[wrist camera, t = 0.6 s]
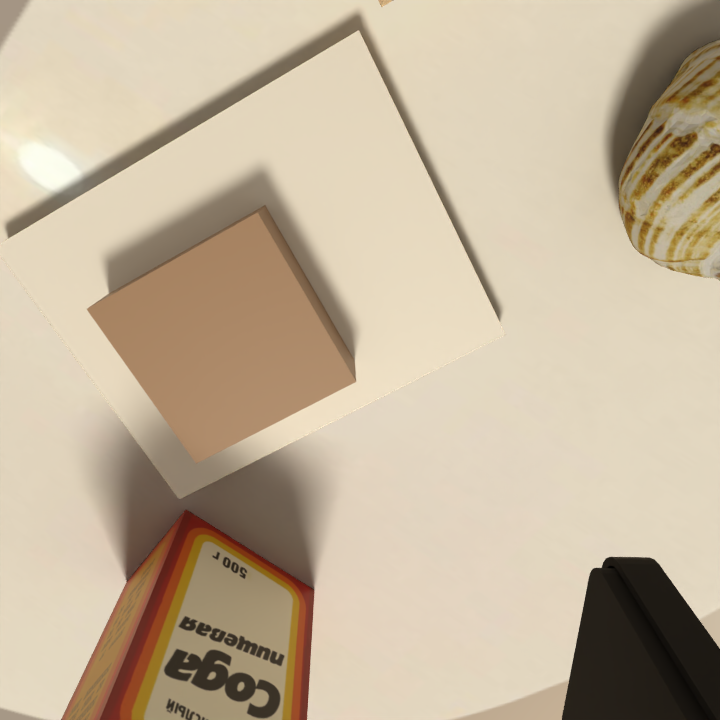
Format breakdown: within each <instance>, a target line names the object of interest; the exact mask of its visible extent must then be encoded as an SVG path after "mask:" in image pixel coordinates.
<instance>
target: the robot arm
mask: <svg viewBox="0 0 720 720" xmlns="http://www.w3.org/2000/svg"><path fill="white" fill-rule="evenodd" d="M562 720H720V649H719V647H718V646H717V644H716V643H715V642H714V640H713V639H712V637H711V636H710V635H709V633H708V632H707V630H706V629H705V628H704V626H703V625H702V623H701V622H700V621H699V619H698V618H697V617H696V615H695V614H694V612H693V611H692V610H691V608H690V607H689V605H688V604H687V603H686V601H685V600H684V598H683V597H682V596H681V594H680V593H679V592H678V590H677V589H676V587H675V586H674V585H673V583H672V582H671V580H670V579H669V578H668V576H667V575H666V573H665V572H664V571H663V569H662V568H661V566H660V565H659V564H658V563H657V562H656V561H655V560H654V559H652V558H642V557H609V558H606V560H605V561H604V563H603V565H602V568H594V569H593V570H592V571H591V573H590V576H589V581H588V586H587V591H586V596H585V601H584V607H583V612H582V617H581V622H580V627H579V632H578V638H577V643H576V648H575V653H574V658H573V664H572V669H571V674H570V679H569V684H568V690H567V695H566V700H565V706H564V710H563V715H562Z"/></svg>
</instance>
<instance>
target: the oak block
mask: <svg viewBox="0 0 720 720" xmlns="http://www.w3.org/2000/svg"><path fill="white" fill-rule="evenodd" d="M391 1H393V0H379V3H380V5H381V7H383V6H384V5H386V4H388V3H389V2H391Z"/></svg>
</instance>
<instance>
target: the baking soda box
mask: <svg viewBox="0 0 720 720" xmlns="http://www.w3.org/2000/svg"><path fill="white" fill-rule="evenodd" d="M313 605H314V589H312V588H310V587H309V586H307V585H306V584H304V583H302V582H301V581H299V580H298V579H296V578H294V577H293V576H291V575H290V574H288V573H286V572H285V571H283V570H282V569H280V568H278V567H277V566H275V565H274V564H272V563H271V562H269V561H267V560H266V559H264V558H263V557H261V556H259V555H258V554H256V553H255V552H253V551H251V550H250V549H248V548H247V547H245V546H243V545H242V544H240V543H239V542H237V541H235V540H234V539H232V538H231V537H229V536H227V535H226V534H224V533H223V532H221V531H220V530H218V529H216V528H215V527H213V526H212V525H210V524H208V523H207V522H205V521H204V520H202V519H200V518H199V517H197V516H196V515H194V514H192V513H191V512H189V511H188V510H185V511H184V512H183V514H182V515H181V516H180V517H179V519H178V520H177V521H176V522H175V523H174V525H173V526H172V527H171V528H170V530H169V531H168V532H167V533H166V535H165V536H164V537H163V538H162V539H161V541H160V542H159V543H158V544H157V546H156V547H155V548H154V549H153V551H152V552H151V553H150V554H149V555H148V557H147V558H146V559H145V560H144V562H143V563H142V564H141V565H140V567H139V568H138V569H137V570H136V571H135V573H134V574H133V575H132V576H131V578H130V579H129V580H128V581H127V583H126V585H125V587H124V589H123V591H122V593H121V595H120V597H119V599H118V601H117V604H116V606H115V608H114V610H113V612H112V614H111V616H110V618H109V620H108V622H107V625H106V627H105V629H104V631H103V633H102V635H101V637H100V639H99V641H98V643H97V646H96V648H95V650H94V652H93V654H92V656H91V658H90V660H89V662H88V664H87V667H86V669H85V671H84V673H83V675H82V677H81V679H80V681H79V683H78V685H77V688H76V690H75V692H74V694H73V696H72V698H71V700H70V702H69V704H68V706H67V709H66V711H65V713H64V715H63V717H62V719H61V720H307V709H308V691H309V674H310V657H311V640H312V622H313Z"/></svg>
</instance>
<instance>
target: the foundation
mask: <svg viewBox="0 0 720 720" xmlns="http://www.w3.org/2000/svg"><path fill="white" fill-rule="evenodd" d="M0 257H1V258H2V260H3V261H4V262H5V264H6V265H7V266H8V268H9V269H10V271H11V272H12V273H13V275H14V276H15V277H16V279H17V280H18V281H19V283H20V284H21V285H22V287H23V288H24V290H25V291H26V292H27V294H28V295H29V296H30V298H31V299H32V300H33V302H34V303H35V305H36V306H37V307H38V309H39V310H40V311H41V313H42V314H43V315H44V317H45V318H46V319H47V321H48V322H49V324H50V325H51V326H52V328H53V329H54V330H55V332H56V333H57V334H58V336H59V337H60V338H61V340H62V341H63V343H64V344H65V345H66V347H67V348H68V349H69V351H70V352H71V353H72V355H73V356H74V358H75V359H76V360H77V362H78V363H79V364H80V366H81V367H82V368H83V370H84V371H85V372H86V374H87V375H88V377H89V378H90V379H91V381H92V382H93V383H94V385H95V386H96V387H97V389H98V390H99V391H100V393H101V394H102V396H103V397H104V398H105V400H106V401H107V402H108V404H109V405H110V406H111V408H112V409H113V411H114V412H115V413H116V415H117V416H118V417H119V419H120V420H121V421H122V423H123V424H124V425H125V427H126V428H127V430H128V431H129V432H130V434H131V435H132V436H133V438H134V439H135V440H136V442H137V443H138V445H139V446H140V447H141V449H142V450H143V451H144V453H145V454H146V455H147V457H148V458H149V459H150V461H151V462H152V464H153V465H154V466H155V468H156V469H157V470H158V472H159V473H160V474H161V476H162V477H163V478H164V480H165V481H166V483H167V484H168V485H169V487H170V488H171V489H172V491H173V492H174V493H175V495H176V496H177V498H178V499H179V500H180V499H182V498H184V497H186V496H187V495H189V494H191V493H193V492H195V491H197V490H199V489H201V488H203V487H205V486H207V485H209V484H211V483H213V482H215V481H217V480H219V479H221V478H223V477H225V476H227V475H229V474H231V473H233V472H235V471H237V470H239V469H241V468H243V467H245V466H247V465H249V464H251V463H253V462H255V461H257V460H259V459H261V458H263V457H265V456H267V455H269V454H271V453H273V452H275V451H277V450H279V449H281V448H283V447H285V446H286V445H288V444H290V443H292V442H294V441H296V440H298V439H300V438H302V437H304V436H306V435H308V434H310V433H312V432H314V431H316V430H318V429H320V428H322V427H324V426H326V425H328V424H330V423H332V422H334V421H336V420H338V419H340V418H342V417H344V416H346V415H348V414H350V413H352V412H354V411H356V410H358V409H360V408H362V407H364V406H366V405H368V404H370V403H372V402H374V401H376V400H378V399H380V398H382V397H384V396H385V395H387V394H389V393H391V392H393V391H395V390H397V389H399V388H401V387H403V386H405V385H407V384H409V383H411V382H413V381H415V380H417V379H419V378H421V377H423V376H425V375H427V374H429V373H431V372H433V371H435V370H437V369H439V368H441V367H443V366H445V365H447V364H449V363H451V362H453V361H455V360H457V359H459V358H461V357H463V356H465V355H467V354H469V353H471V352H473V351H475V350H477V349H479V348H481V347H483V346H484V345H486V344H488V343H490V342H492V341H494V340H496V339H498V338H500V337H502V336H504V335H506V334H505V332H504V330H503V328H502V326H501V324H500V322H499V320H498V317H497V315H496V313H495V311H494V309H493V307H492V305H491V303H490V301H489V299H488V297H487V295H486V293H485V290H484V288H483V286H482V284H481V282H480V280H479V278H478V276H477V274H476V272H475V270H474V268H473V266H472V264H471V261H470V259H469V257H468V255H467V253H466V251H465V249H464V247H463V245H462V243H461V241H460V239H459V237H458V235H457V232H456V230H455V228H454V226H453V224H452V222H451V220H450V218H449V216H448V214H447V212H446V210H445V208H444V206H443V203H442V201H441V199H440V197H439V195H438V193H437V191H436V189H435V187H434V185H433V183H432V181H431V179H430V177H429V174H428V172H427V170H426V168H425V166H424V164H423V162H422V160H421V158H420V156H419V154H418V152H417V150H416V148H415V145H414V143H413V141H412V139H411V137H410V135H409V133H408V131H407V129H406V127H405V125H404V123H403V121H402V119H401V116H400V114H399V112H398V110H397V108H396V106H395V104H394V102H393V100H392V98H391V96H390V94H389V92H388V89H387V87H386V85H385V83H384V81H383V79H382V77H381V75H380V73H379V71H378V69H377V67H376V65H375V63H374V60H373V58H372V56H371V54H370V52H369V50H368V48H367V46H366V44H365V42H364V40H363V38H362V36H361V34H360V31H359V30H358V31H356V32H355V33H353V34H351V35H350V36H348V37H346V38H345V39H343V40H341V41H340V42H338V43H336V44H334V45H333V46H331V47H329V48H328V49H326V50H324V51H323V52H321V53H319V54H318V55H316V56H314V57H313V58H311V59H309V60H308V61H306V62H304V63H303V64H301V65H299V66H298V67H296V68H294V69H292V70H291V71H289V72H287V73H286V74H284V75H282V76H281V77H279V78H277V79H276V80H274V81H272V82H271V83H269V84H267V85H266V86H264V87H262V88H261V89H259V90H257V91H255V92H254V93H252V94H250V95H249V96H247V97H245V98H244V99H242V100H240V101H239V102H237V103H235V104H234V105H232V106H230V107H229V108H227V109H225V110H224V111H222V112H220V113H219V114H217V115H215V116H213V117H212V118H210V119H208V120H207V121H205V122H203V123H202V124H200V125H198V126H197V127H195V128H193V129H192V130H190V131H188V132H187V133H185V134H183V135H182V136H180V137H178V138H176V139H175V140H173V141H171V142H170V143H168V144H166V145H165V146H163V147H161V148H160V149H158V150H156V151H155V152H153V153H151V154H150V155H148V156H146V157H145V158H143V159H141V160H139V161H138V162H136V163H134V164H133V165H131V166H129V167H128V168H126V169H124V170H123V171H121V172H119V173H118V174H116V175H114V176H113V177H111V178H109V179H108V180H106V181H104V182H103V183H101V184H99V185H97V186H96V187H94V188H92V189H91V190H89V191H87V192H86V193H84V194H82V195H81V196H79V197H77V198H76V199H74V200H72V201H71V202H69V203H67V204H66V205H64V206H62V207H60V208H59V209H57V210H55V211H54V212H52V213H50V214H49V215H47V216H45V217H44V218H42V219H40V220H39V221H37V222H35V223H34V224H32V225H30V226H29V227H27V228H25V229H24V230H22V231H20V232H18V233H17V234H15V235H13V236H12V237H10V238H8V239H7V240H5V241H3V242H2V243H0Z"/></svg>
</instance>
